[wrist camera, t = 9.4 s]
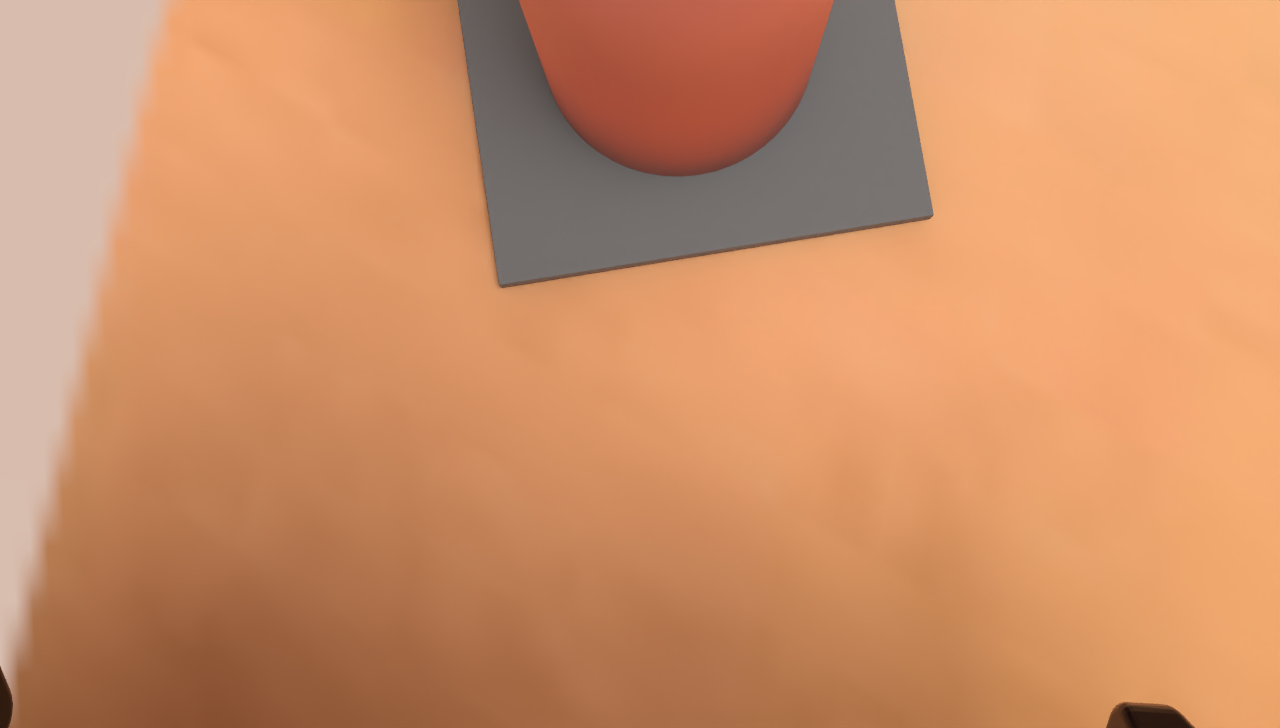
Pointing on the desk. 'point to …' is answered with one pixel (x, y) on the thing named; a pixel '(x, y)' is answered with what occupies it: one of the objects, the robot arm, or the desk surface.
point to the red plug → (677, 75)
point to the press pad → (700, 204)
